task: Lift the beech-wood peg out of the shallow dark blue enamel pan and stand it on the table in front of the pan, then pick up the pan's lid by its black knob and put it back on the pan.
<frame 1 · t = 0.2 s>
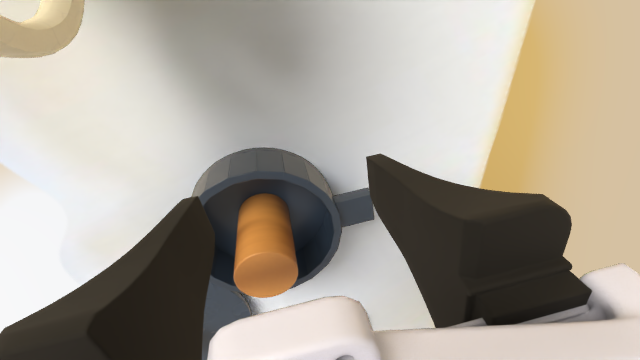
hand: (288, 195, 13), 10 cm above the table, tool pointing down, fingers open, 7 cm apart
lid: (182, 322, 30), point 1 cm above the table
peg: (264, 213, 25), resting on pot
pot: (264, 210, 26), on the table
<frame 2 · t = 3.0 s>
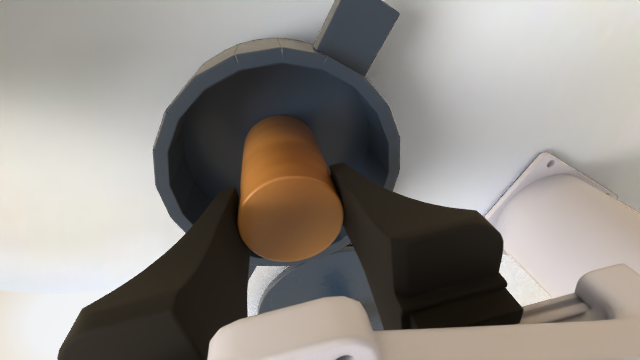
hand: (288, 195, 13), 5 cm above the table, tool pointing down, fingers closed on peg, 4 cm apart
lid: (339, 307, 25), point 1 cm above the table
peg: (280, 149, 17), point 1 cm above the table, touching gripper, pot
pot: (280, 146, 18), on the table
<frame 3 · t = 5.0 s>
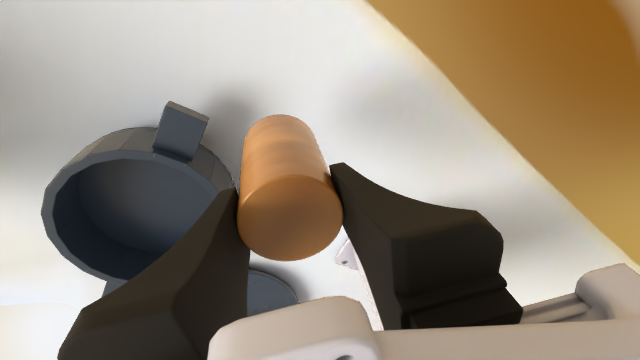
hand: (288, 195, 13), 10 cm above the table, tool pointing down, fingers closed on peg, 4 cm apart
lid: (234, 316, 31), point 1 cm above the table
peg: (280, 149, 17), point 6 cm above the table, touching gripper
pot: (159, 197, 24), on the table
when the fingers open (5 cm above the table, at t = 6.9 s): peg stays where it is, on the table.
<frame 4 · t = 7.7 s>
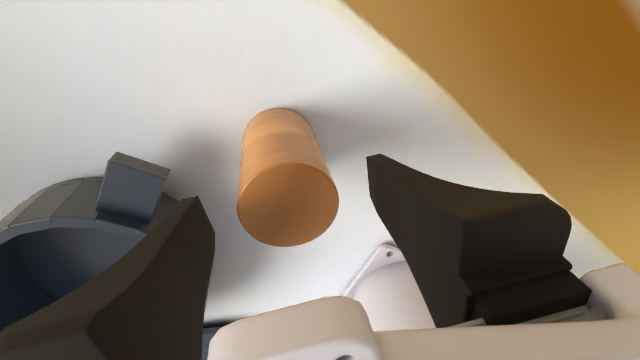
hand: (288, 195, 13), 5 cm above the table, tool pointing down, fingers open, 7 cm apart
peg: (278, 142, 18), on the table
pot: (119, 254, 20), on the table
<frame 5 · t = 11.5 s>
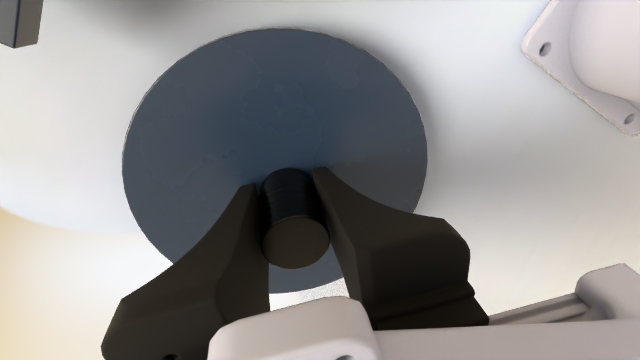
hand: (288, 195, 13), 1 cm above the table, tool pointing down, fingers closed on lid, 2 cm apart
lid: (286, 185, 14), point 1 cm above the table, touching gripper
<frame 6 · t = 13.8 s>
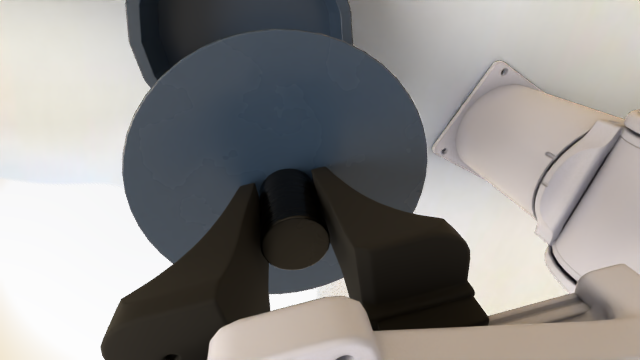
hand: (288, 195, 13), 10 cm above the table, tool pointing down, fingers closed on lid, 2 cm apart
lid: (286, 186, 14), point 10 cm above the table, touching gripper
pot: (249, 36, 19), on the table
when the fingers open (4 cm above the table, at t = 16.3 s): lid stays where it is, resting on pot.
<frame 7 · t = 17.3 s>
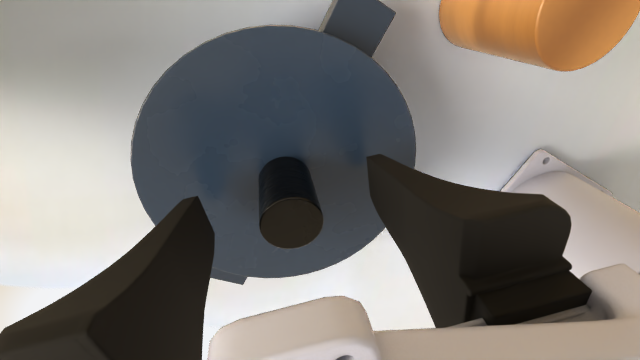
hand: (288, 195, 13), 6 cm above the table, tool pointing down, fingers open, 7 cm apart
lid: (284, 174, 15), point 4 cm above the table, touching pot
peg: (475, 5, 16), on the table
pot: (279, 143, 18), on the table
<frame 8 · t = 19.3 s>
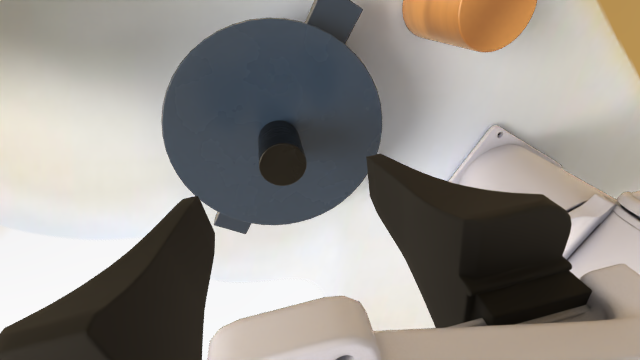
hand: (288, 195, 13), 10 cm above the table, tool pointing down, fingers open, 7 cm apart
lid: (278, 136, 19), point 4 cm above the table, touching pot
peg: (431, 4, 20), on the table
pot: (275, 116, 22), on the table
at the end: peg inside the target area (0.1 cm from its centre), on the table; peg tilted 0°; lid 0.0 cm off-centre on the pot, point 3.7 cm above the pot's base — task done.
